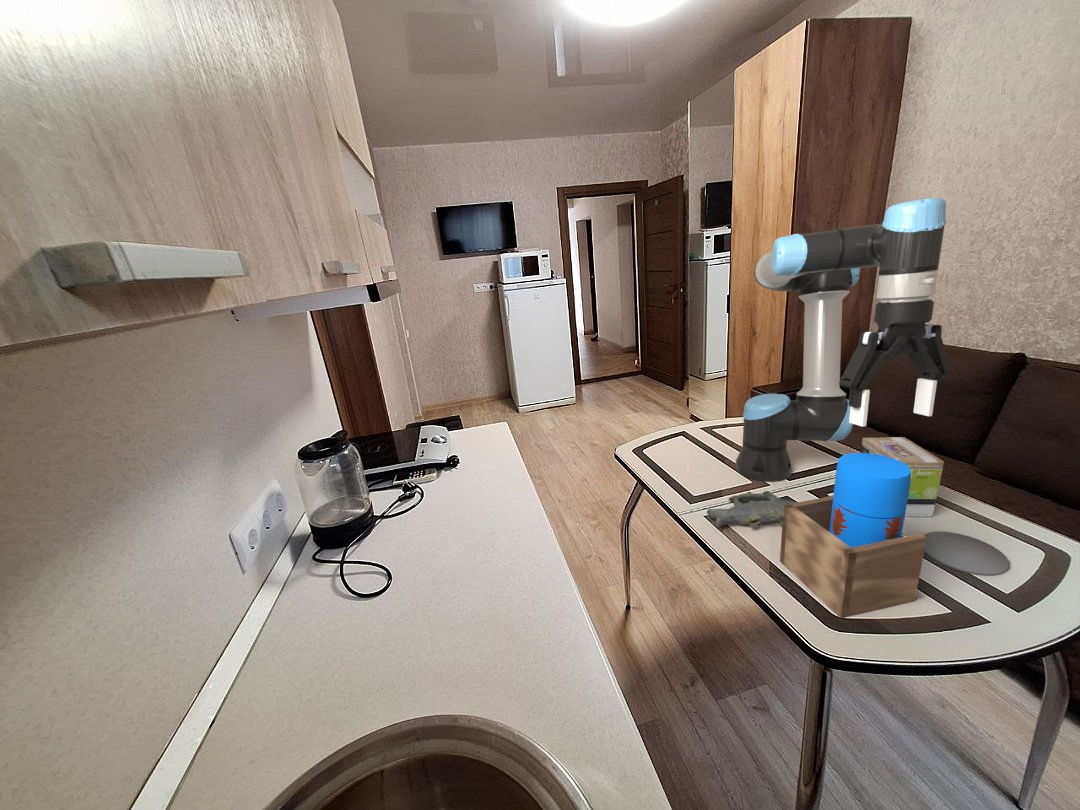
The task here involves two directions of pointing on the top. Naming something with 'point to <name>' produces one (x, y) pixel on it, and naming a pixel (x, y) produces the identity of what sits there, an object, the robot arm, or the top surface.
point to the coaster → (965, 553)
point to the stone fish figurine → (752, 510)
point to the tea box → (912, 471)
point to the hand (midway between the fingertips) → (890, 419)
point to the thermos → (869, 498)
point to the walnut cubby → (848, 562)
